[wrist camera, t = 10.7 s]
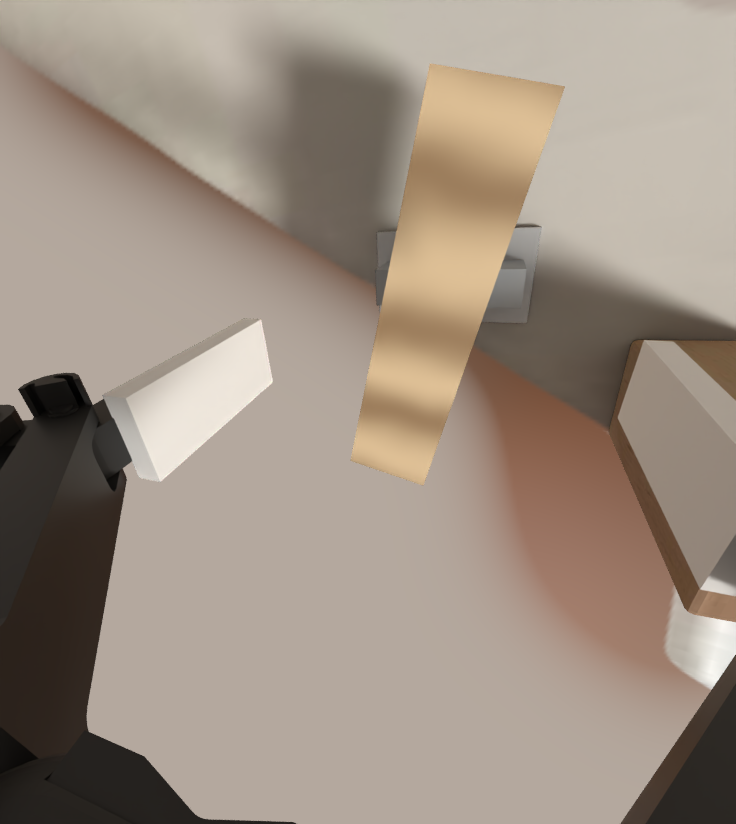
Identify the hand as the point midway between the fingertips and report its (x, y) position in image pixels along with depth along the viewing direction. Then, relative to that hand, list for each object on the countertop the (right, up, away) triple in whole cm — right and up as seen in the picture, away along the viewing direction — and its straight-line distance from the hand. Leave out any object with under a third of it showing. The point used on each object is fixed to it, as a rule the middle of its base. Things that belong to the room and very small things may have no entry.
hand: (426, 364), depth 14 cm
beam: (+3, +6, +15) cm, 16 cm away
